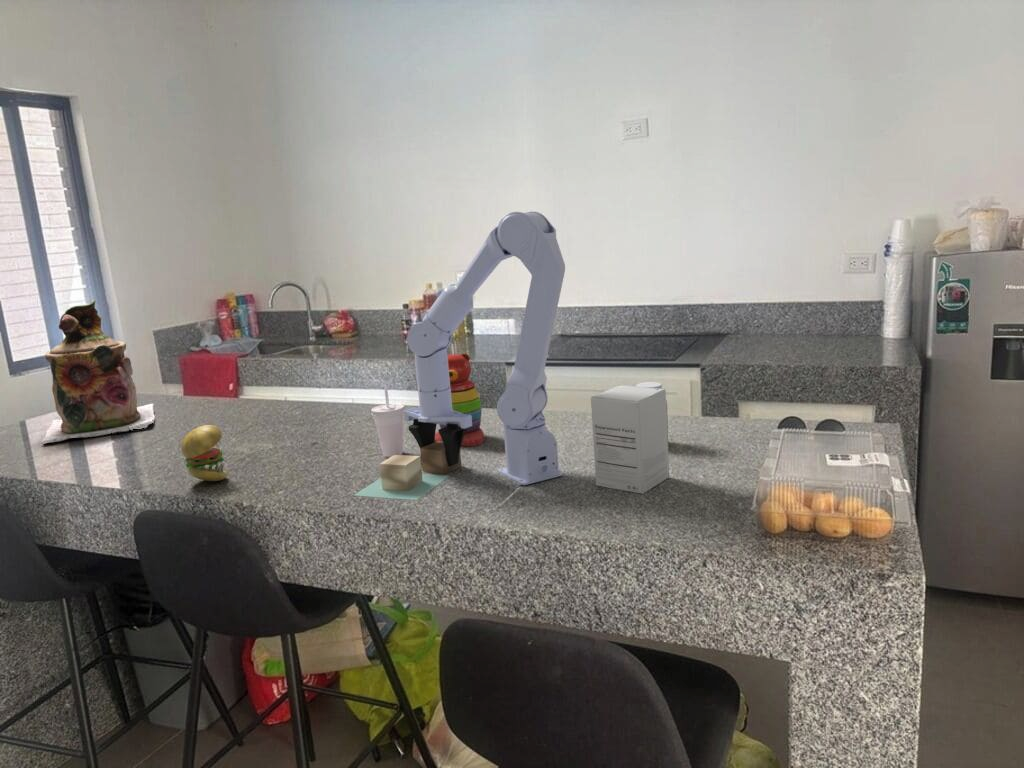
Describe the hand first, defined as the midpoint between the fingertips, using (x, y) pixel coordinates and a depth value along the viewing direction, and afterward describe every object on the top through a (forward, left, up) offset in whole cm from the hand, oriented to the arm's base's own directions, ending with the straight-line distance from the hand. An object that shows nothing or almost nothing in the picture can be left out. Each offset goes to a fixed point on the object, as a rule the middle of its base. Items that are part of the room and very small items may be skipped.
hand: (441, 462), depth 135 cm
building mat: (-4, +9, -1) cm, 10 cm away
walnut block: (0, 0, -1) cm, 1 cm away
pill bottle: (-13, -37, -2) cm, 39 cm away
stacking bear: (+16, -11, -2) cm, 19 cm away
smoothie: (+15, +4, -2) cm, 16 cm away
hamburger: (+23, +37, -2) cm, 44 cm away
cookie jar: (+92, +54, -2) cm, 107 cm away
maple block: (-4, +9, -1) cm, 10 cm away
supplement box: (-27, -22, -2) cm, 35 cm away
